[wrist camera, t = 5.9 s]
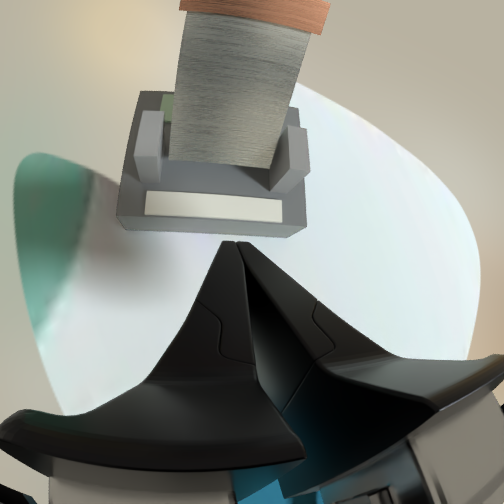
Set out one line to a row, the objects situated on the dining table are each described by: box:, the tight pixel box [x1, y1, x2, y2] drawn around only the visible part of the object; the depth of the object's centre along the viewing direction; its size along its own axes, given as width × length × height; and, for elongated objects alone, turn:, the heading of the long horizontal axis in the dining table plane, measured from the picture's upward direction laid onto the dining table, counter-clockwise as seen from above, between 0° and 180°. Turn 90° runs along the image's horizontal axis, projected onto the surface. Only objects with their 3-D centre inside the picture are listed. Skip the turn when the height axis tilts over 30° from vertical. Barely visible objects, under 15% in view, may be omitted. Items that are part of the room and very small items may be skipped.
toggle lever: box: [169, 0, 330, 169], centre depth 11 cm, size 2×6×9 cm
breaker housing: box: [116, 91, 310, 238], centre depth 15 cm, size 8×10×6 cm
